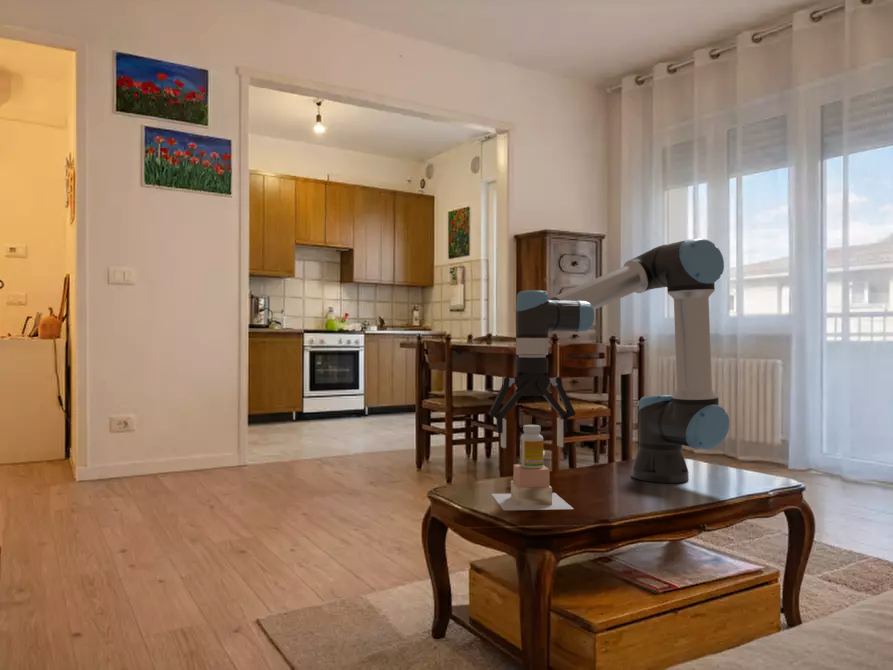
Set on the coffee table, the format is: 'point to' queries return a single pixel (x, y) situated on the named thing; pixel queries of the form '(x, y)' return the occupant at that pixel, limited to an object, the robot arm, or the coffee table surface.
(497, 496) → the tower mat
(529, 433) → the supplement bottle
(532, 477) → the tower top block
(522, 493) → the tower base block
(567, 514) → the coffee table surface
